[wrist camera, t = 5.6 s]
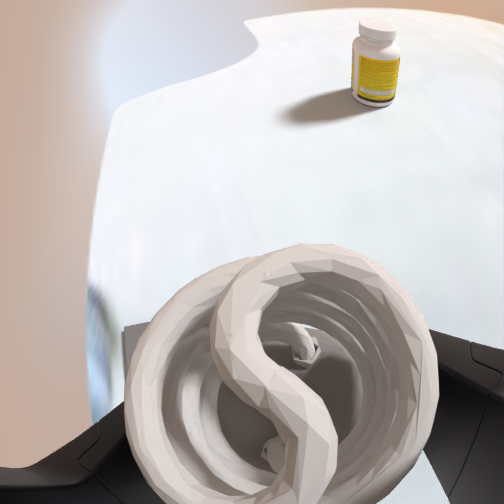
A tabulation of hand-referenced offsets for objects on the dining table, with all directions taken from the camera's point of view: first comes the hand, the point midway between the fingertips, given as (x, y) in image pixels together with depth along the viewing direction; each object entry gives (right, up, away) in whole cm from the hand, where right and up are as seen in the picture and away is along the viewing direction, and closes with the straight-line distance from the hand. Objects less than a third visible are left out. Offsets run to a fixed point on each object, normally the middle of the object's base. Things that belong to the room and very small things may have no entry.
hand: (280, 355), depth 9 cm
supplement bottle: (+14, +22, +24) cm, 35 cm away
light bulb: (+1, -4, +5) cm, 7 cm away
